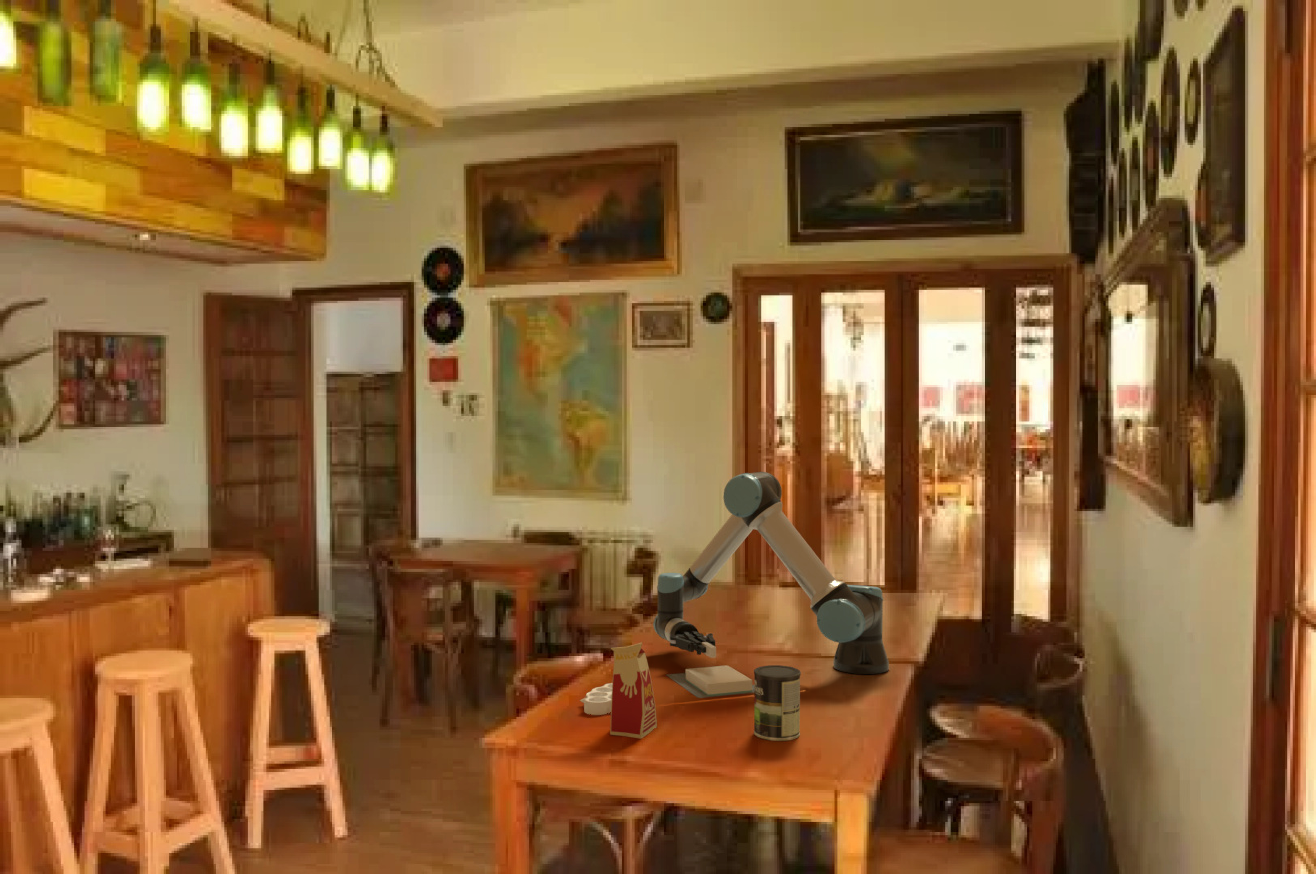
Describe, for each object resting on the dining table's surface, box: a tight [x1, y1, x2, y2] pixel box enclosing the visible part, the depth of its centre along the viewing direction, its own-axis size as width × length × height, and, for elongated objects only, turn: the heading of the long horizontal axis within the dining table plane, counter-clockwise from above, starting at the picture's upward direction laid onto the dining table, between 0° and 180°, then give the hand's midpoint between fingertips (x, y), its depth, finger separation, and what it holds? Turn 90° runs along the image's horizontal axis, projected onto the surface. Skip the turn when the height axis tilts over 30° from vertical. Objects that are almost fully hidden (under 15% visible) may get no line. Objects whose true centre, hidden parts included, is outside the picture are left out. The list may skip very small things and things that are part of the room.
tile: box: [685, 665, 753, 697], centre depth 264 cm, size 3×12×16 cm
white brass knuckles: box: [579, 682, 612, 716], centre depth 249 cm, size 3×18×15 cm
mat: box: [666, 672, 754, 699], centre depth 268 cm, size 24×18×1 cm
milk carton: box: [609, 642, 658, 739], centre depth 229 cm, size 9×9×20 cm
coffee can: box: [753, 664, 802, 742], centre depth 226 cm, size 10×10×14 cm
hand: (713, 652), depth 267 cm, fingers closed
